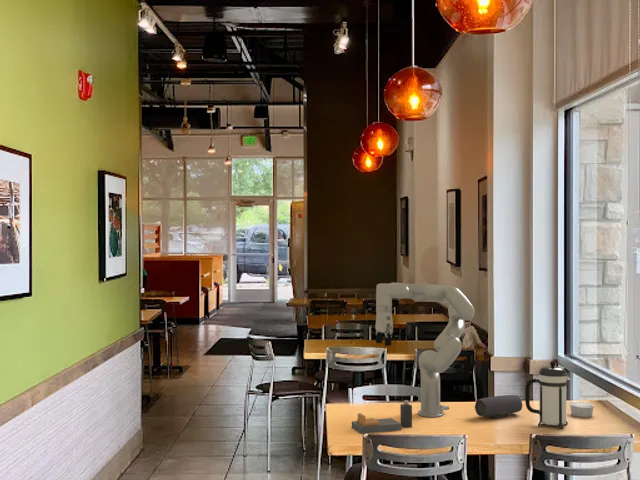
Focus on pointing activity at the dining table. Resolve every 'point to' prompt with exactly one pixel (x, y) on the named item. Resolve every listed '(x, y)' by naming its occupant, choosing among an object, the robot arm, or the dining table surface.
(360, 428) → the socket block
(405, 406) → the dark grey square bottle
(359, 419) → the orange l-shaped block
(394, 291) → the robot arm
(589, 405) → the ramekin
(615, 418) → the dining table surface
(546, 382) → the coffee press
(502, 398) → the bluetooth speaker
